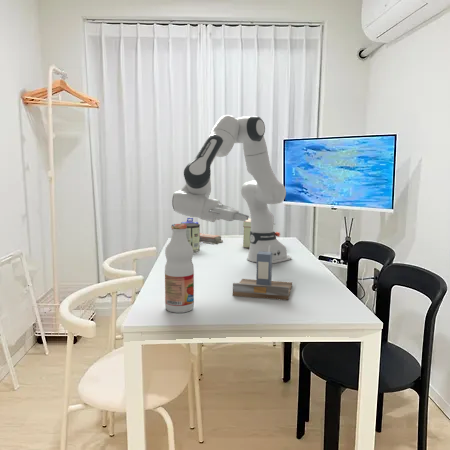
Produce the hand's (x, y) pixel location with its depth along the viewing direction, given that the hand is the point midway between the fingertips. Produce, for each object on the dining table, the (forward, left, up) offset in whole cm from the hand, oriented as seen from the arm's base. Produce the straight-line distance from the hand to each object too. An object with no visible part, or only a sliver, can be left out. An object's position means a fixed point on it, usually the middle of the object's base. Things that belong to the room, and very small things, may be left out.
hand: (247, 218), depth 166 cm
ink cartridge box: (-22, -92, -27) cm, 98 cm away
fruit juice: (+33, +10, -27) cm, 44 cm away
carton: (-3, +8, -25) cm, 27 cm away
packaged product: (-33, -90, -27) cm, 100 cm away
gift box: (-53, -64, -27) cm, 87 cm away
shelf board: (-3, +8, -27) cm, 28 cm away
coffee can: (-13, -72, -27) cm, 78 cm away
